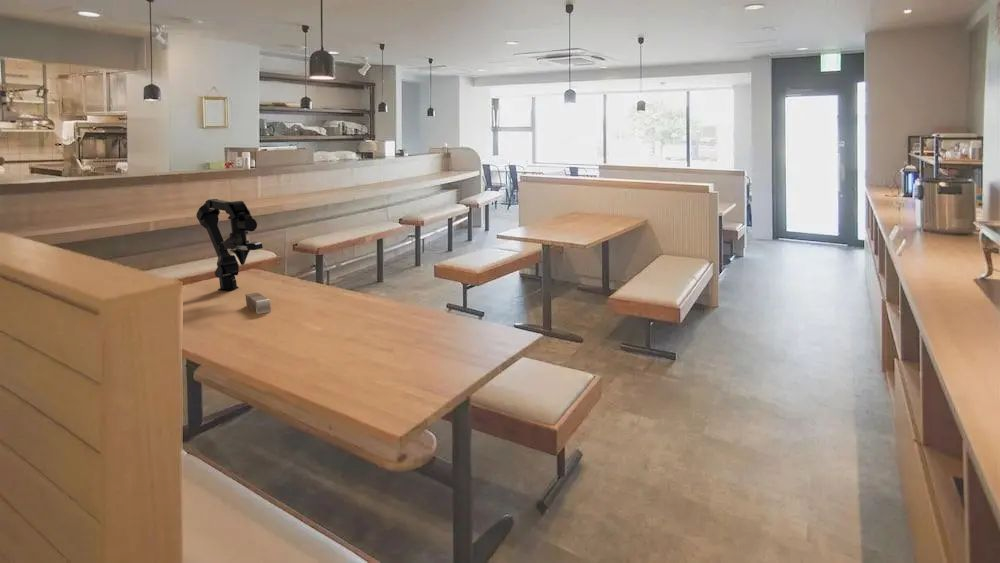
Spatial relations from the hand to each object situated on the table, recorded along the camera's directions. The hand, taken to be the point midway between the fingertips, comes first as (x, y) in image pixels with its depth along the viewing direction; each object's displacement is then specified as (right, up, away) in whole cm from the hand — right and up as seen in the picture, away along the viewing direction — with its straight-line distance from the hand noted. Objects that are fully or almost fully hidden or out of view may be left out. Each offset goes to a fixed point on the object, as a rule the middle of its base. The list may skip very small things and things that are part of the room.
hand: (242, 264), depth 278 cm
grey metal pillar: (+11, -15, -17) cm, 25 cm away
